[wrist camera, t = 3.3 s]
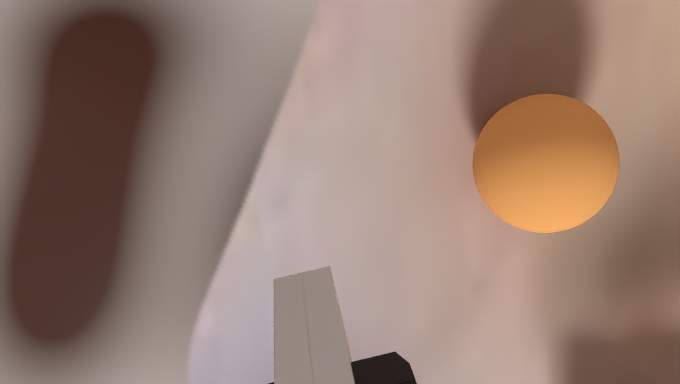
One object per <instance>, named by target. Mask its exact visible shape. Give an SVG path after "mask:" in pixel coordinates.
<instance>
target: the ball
mask: <svg viewBox="0 0 680 384" xmlns="http://www.w3.org/2000/svg"><path fill="white" fill-rule="evenodd" d="M618 173H619V152H618V146H617V143H616V140H615V137H614V135H613V133H612V131H611V129H610V128H609V126H608V124H607V123H606V122H605V120H604V119H603V118H602V117H601V116H600V115H599V114H598V113H597V112H596V111H595V110H593V109H592V108H591V107H589V106H588V105H586V104H585V103H583V102H581V101H579V100H576V99H574V98H571V97H567V96H564V95H558V94H537V95H530V96H527V97H523V98H520V99H518V100H516V101H513V102H511V103H510V104H508V105H506V106H505V107H503V108H502V109H501V110H499V111H498V112H497V113H496V114H495V115H494V116H493V117H491V119H490V120H489V121H488V122H487V123H486V125H485V126H484V128H483V129H482V131H481V133H480V135H479V137H478V139H477V142H476V145H475V149H474V154H473V175H474V179H475V183H476V186H477V189H478V191H479V193H480V195H481V197H482V199H483V200H484V202H485V203H486V204H487V206H488V207H489V208H490V209H491V210H492V211H493V212H494V213H495V214H496V215H497V216H498V217H500V218H501V219H502V220H504V221H505V222H507V223H509V224H510V225H512V226H515V227H517V228H520V229H523V230H526V231H531V232H539V233H552V232H558V231H564V230H567V229H571V228H573V227H576V226H578V225H580V224H582V223H583V222H585V221H587V220H588V219H590V218H591V217H592V216H594V215H595V214H596V213H597V212H598V211H599V210H600V209H601V208H602V207H603V206H604V205H605V203H606V202H607V200H608V199H609V197H610V195H611V194H612V192H613V189H614V187H615V185H616V182H617V178H618Z"/></svg>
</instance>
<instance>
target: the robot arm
mask: <svg viewBox="0 0 680 384" xmlns="http://www.w3.org/2000/svg"><path fill="white" fill-rule="evenodd" d="M269 384H417V383H416V380H415V377H414V375H413V372H412V369H411V366H410V364H409V363H408V362H407V361H406V360H405V359H403V358H402V357H401V356H400V355H398V354H397V353H396V352H392V353H388V354H383V355H379V356H375V357H371V358H367V359H362V360H358V361H354V362H352V359H351V355H350V350H349V346H348V342H347V337H346V333H345V329H344V325H343V320H342V316H341V312H340V307H339V303H338V299H337V294H336V290H335V286H334V282H333V277H332V273H331V269H330V266H328V267H324V268H320V269H316V270H311V271H307V272H303V273H298V274H294V275H290V276H286V277H281V278H277V279H274V382H273V383H269Z"/></svg>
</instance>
